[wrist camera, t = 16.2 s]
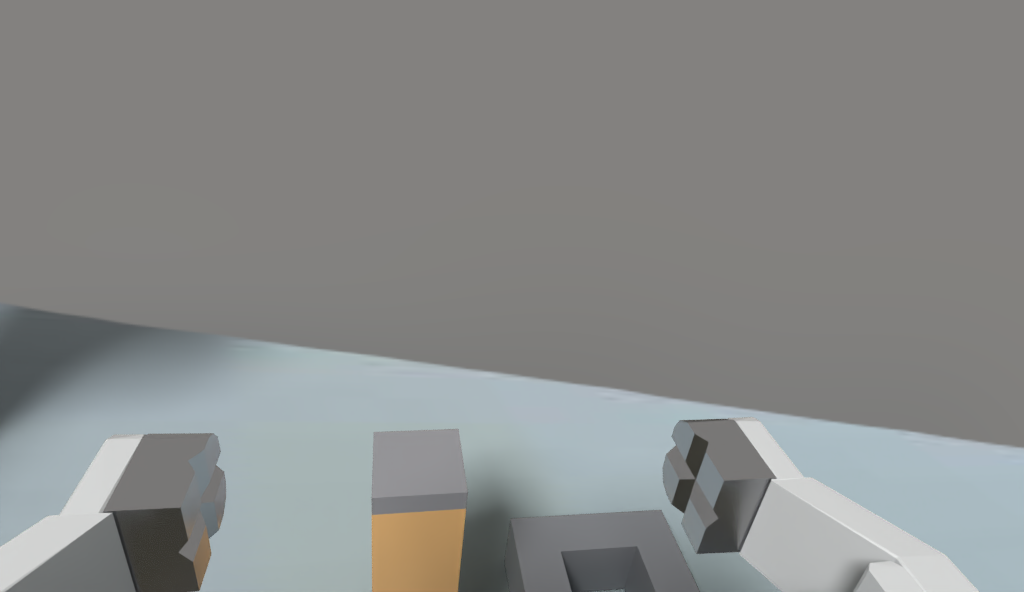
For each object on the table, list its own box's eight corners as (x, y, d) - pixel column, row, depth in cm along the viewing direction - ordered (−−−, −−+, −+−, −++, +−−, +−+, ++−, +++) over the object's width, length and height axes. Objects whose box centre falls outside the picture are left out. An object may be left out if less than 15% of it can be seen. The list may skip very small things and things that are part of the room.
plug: (372, 688, 31) (371, 498, 25) (374, 616, 35) (373, 432, 28) (449, 678, 32) (467, 492, 26) (443, 609, 36) (458, 428, 29)
